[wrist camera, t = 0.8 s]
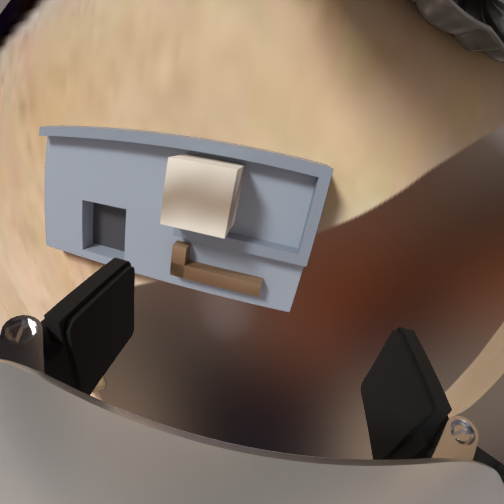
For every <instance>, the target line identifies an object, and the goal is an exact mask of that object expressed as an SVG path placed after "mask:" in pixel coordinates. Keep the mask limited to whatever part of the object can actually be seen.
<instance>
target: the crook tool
mask: <svg viewBox="0 0 504 504" xmlns="http://www.w3.org/2000/svg"><path fill="white" fill-rule="evenodd" d="M190 246H191V243H187V242H183V241H179V240H177V241H176V242H175V243H174V244H173V245H172V255H171V266H170V275H173V276H177V277H180V278H184V279H188V280H192V281H196V282H200V283H203V284H207V285H211V286H215V287H219V288H223V289H227V290H232V291H236V292H240V293H244V294H248V295H252V296H257V297H259V294H260V290H261V286H262V281H263V278H262V277H257V276H253V275H249V274H245V273H240V272H236V271H232V270H228V269H224V268H220V267H216V266H212V265H207V264H203V263H199V262H195V261H191V260H189V254H190Z"/></svg>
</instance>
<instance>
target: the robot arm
mask: <svg viewBox="0 0 504 504" xmlns="http://www.w3.org/2000/svg"><path fill="white" fill-rule="evenodd" d="M134 278H135V269H134V267H132V266H131V263H130V262H129V261H126V260H123V259H119V258H113V259H112V260H111V261H109V262H108V263H107V264H105V265H104V266H103V267H102V268H100V269H99V270H98V271H97V272H95V273H94V274H93V275H92V276H90V277H89V278H88V279H87V280H85V281H84V282H83V283H82V284H80V285H79V286H78V287H77V288H76V289H74V290H73V291H72V292H71V293H70V294H68V295H67V296H66V297H65V298H64V299H62V300H61V301H60V302H59V303H58V304H57V305H55V306H54V307H53V308H52V309H51V310H50V311H49V312H47V313H46V314H45V315H44V317H45V319H44V320H43V321H41V322H40V321H39V320H38V319H36V318H35V317H32V316H27V315H21V316H16V317H14V318H11V319H10V320H8V321H7V322H6V323H5V324H4V325H3V327H2V329H1V334H0V504H504V465H503V464H502V463H500V462H499V461H497V460H496V459H495V458H493V457H492V456H490V455H489V454H487V453H486V452H484V451H483V450H481V449H480V448H479V447H477V443H478V432H477V430H476V427H475V426H474V425H473V423H472V422H471V421H469V420H468V419H467V418H464V417H462V416H453V417H451V418H450V419H449V418H448V416H447V415H448V414H449V413H450V412H451V410H452V409H451V407H450V404H449V402H448V400H447V397H446V395H445V393H444V391H443V389H442V386H441V384H440V382H439V380H438V378H437V376H436V374H435V371H434V369H433V367H432V365H431V363H430V361H429V359H428V357H427V355H426V353H425V351H424V349H423V347H422V346H421V343H420V342H419V340H418V338H417V336H416V334H415V332H414V331H413V330H411V329H406V328H401V327H399V328H398V329H396V330H395V331H392V332H391V334H390V336H389V338H388V340H387V341H386V343H385V345H384V347H383V348H382V350H381V352H380V354H379V355H378V357H377V359H376V361H375V362H374V364H373V366H372V368H371V369H370V371H369V373H368V374H367V376H366V377H365V379H364V381H363V382H362V385H361V394H362V399H363V404H364V409H365V414H366V420H367V425H368V431H369V437H370V443H371V449H372V455H373V460H357V459H335V458H322V457H311V456H302V455H294V454H286V453H280V452H272V451H267V450H261V449H256V448H250V447H245V446H241V445H236V444H231V443H227V442H223V441H218V440H214V439H211V438H206V437H203V436H199V435H195V434H192V433H188V432H185V431H182V430H179V429H175V428H172V427H169V426H166V425H163V424H160V423H157V422H154V421H151V420H148V419H146V418H143V417H140V416H137V415H135V414H132V413H130V412H127V411H125V410H122V409H120V408H117V407H115V406H113V405H110V404H108V403H106V402H103V401H101V400H99V399H96V398H94V397H92V396H90V394H91V393H92V391H93V390H94V389H95V387H96V386H97V384H98V383H99V381H100V380H101V378H102V377H103V375H104V374H105V373H106V371H107V370H108V368H109V367H110V366H111V364H112V363H113V361H114V360H115V358H116V357H117V356H118V354H119V353H120V351H121V350H122V349H123V347H124V346H125V344H126V343H127V342H128V340H129V339H130V338H131V336H132V334H133V331H134Z"/></svg>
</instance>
